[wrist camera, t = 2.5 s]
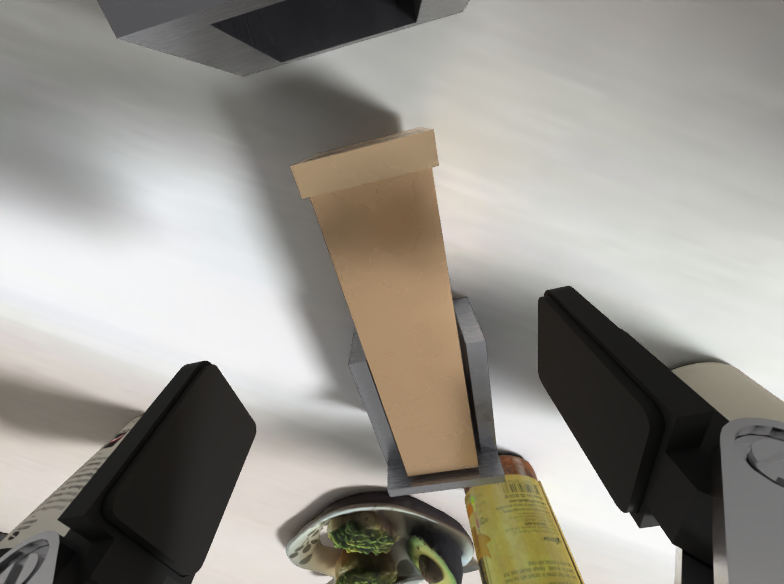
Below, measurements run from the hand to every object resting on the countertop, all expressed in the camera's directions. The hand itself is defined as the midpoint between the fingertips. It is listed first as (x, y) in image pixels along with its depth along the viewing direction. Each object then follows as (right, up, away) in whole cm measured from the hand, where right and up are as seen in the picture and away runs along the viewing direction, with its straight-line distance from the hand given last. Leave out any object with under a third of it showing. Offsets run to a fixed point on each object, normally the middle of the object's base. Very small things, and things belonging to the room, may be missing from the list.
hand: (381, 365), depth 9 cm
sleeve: (+2, -3, +11) cm, 12 cm away
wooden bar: (+1, +2, +9) cm, 9 cm away
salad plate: (0, -23, +23) cm, 33 cm away
